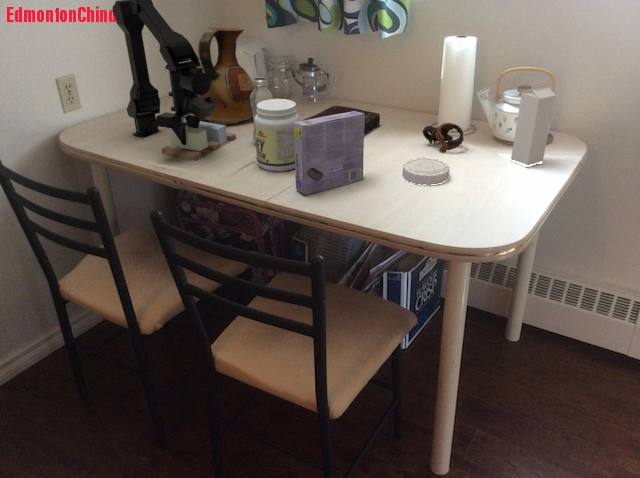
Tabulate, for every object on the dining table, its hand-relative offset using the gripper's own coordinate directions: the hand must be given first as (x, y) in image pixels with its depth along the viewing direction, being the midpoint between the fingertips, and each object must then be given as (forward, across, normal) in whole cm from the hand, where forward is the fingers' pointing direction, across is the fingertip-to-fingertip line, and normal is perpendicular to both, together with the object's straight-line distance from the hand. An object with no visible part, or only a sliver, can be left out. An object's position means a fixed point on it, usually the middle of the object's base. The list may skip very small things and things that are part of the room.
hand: (189, 142), depth 164 cm
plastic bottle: (+4, +15, -16) cm, 22 cm away
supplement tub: (+4, +5, -27) cm, 28 cm away
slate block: (+3, +9, 0) cm, 10 cm away
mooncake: (+4, +14, -66) cm, 68 cm away
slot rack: (+4, +5, 0) cm, 6 cm away
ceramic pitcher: (+4, +31, +8) cm, 32 cm away
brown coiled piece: (+4, +37, -64) cm, 73 cm away
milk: (+4, +35, -88) cm, 95 cm away
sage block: (+1, 0, 0) cm, 1 cm away
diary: (+4, +36, -30) cm, 47 cm away
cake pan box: (+4, -1, -46) cm, 46 cm away
